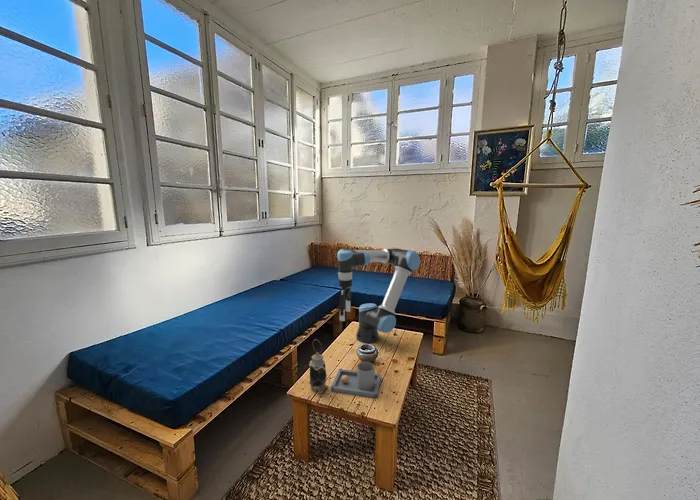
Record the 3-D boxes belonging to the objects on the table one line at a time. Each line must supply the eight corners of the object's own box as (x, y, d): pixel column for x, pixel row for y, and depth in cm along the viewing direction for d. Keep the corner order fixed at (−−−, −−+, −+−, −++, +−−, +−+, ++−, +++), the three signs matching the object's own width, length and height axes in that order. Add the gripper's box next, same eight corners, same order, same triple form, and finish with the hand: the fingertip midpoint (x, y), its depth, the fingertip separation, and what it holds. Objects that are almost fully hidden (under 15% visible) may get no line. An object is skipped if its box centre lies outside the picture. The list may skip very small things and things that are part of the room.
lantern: (306, 387, 140) (304, 339, 135) (318, 380, 145) (318, 333, 141) (317, 395, 134) (316, 345, 130) (330, 387, 139) (329, 339, 135)
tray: (339, 372, 151) (339, 368, 151) (380, 378, 147) (380, 374, 146) (330, 392, 136) (330, 387, 136) (376, 399, 131) (376, 394, 131)
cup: (372, 391, 135) (373, 372, 134) (355, 389, 137) (356, 370, 135) (375, 381, 143) (375, 362, 142) (358, 379, 145) (359, 360, 143)
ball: (342, 379, 145) (342, 373, 144) (349, 380, 144) (349, 374, 143) (340, 384, 141) (340, 377, 141) (347, 385, 140) (347, 378, 140)
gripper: (344, 273, 169) (344, 307, 172) (332, 284, 145) (332, 324, 148) (356, 273, 167) (356, 308, 171) (346, 285, 143) (346, 325, 147)
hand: (345, 315), depth 160 cm, fingers open, 13 cm apart
